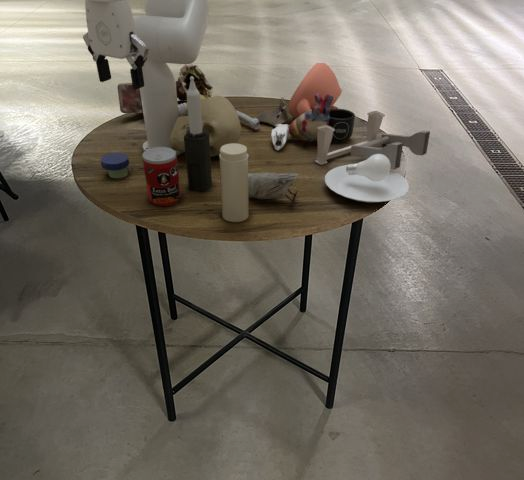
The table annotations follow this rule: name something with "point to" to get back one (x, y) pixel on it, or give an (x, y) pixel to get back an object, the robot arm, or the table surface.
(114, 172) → the stand
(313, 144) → the accessory
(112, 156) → the lid
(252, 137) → the table surface
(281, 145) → the bird figurine
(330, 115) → the mug
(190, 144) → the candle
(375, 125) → the toilet paper hanger
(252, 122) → the bone
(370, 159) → the lightbulb
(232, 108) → the skull
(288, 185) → the decorative bird
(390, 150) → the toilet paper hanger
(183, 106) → the light bulb
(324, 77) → the pink curved piece
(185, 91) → the bear figurine
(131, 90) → the decorative box
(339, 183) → the plate
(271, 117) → the pottery fragment
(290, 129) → the anatomical model
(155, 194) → the canned food
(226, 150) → the jar
